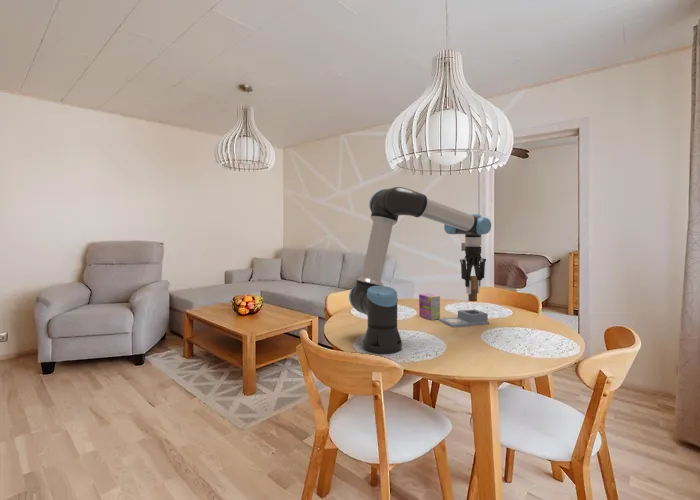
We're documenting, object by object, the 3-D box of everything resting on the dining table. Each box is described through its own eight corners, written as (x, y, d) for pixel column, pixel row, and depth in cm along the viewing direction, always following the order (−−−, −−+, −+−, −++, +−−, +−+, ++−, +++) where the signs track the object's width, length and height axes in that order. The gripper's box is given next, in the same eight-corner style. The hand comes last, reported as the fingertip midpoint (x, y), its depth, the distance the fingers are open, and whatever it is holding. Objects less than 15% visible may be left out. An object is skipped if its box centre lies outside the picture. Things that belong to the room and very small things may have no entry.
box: (418, 315, 185) (418, 293, 184) (427, 314, 187) (427, 292, 187) (431, 320, 176) (431, 297, 175) (440, 319, 178) (440, 296, 177)
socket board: (488, 323, 168) (489, 314, 168) (452, 327, 163) (452, 317, 162) (473, 317, 180) (473, 308, 179) (439, 321, 174) (439, 311, 174)
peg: (478, 301, 171) (478, 276, 170) (471, 301, 169) (471, 277, 169) (473, 299, 174) (473, 275, 174) (466, 300, 173) (466, 276, 172)
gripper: (483, 245, 176) (482, 290, 178) (453, 246, 171) (453, 293, 173) (493, 245, 169) (492, 293, 170) (462, 246, 164) (462, 295, 166)
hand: (472, 293), depth 172 cm, fingers closed on peg, 4 cm apart
